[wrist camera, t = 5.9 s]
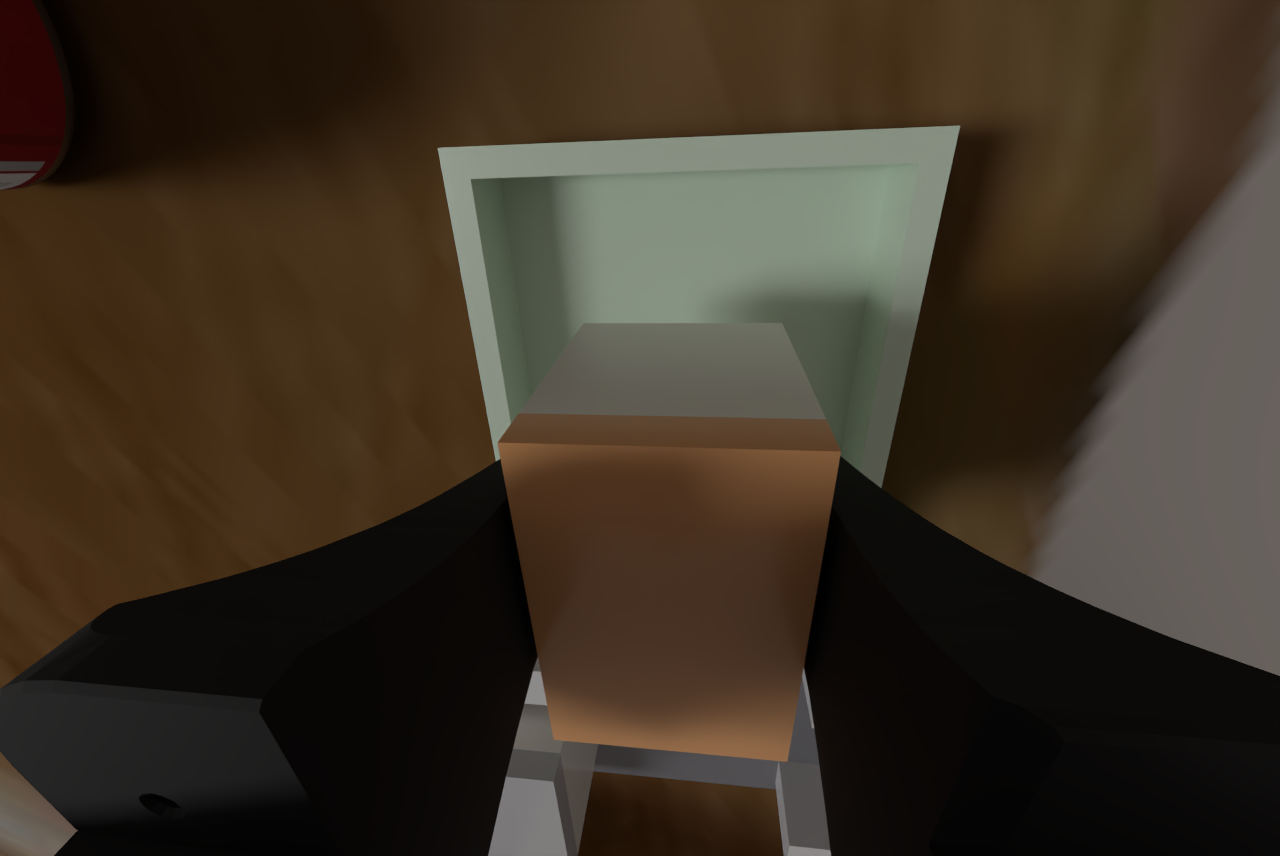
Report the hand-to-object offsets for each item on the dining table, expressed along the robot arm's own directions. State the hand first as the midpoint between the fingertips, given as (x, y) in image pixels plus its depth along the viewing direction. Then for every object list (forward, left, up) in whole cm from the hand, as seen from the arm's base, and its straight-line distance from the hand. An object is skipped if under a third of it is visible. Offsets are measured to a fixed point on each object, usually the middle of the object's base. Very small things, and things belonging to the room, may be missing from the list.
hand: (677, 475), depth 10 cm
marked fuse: (0, 0, -1) cm, 1 cm away
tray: (0, 0, -5) cm, 5 cm away
